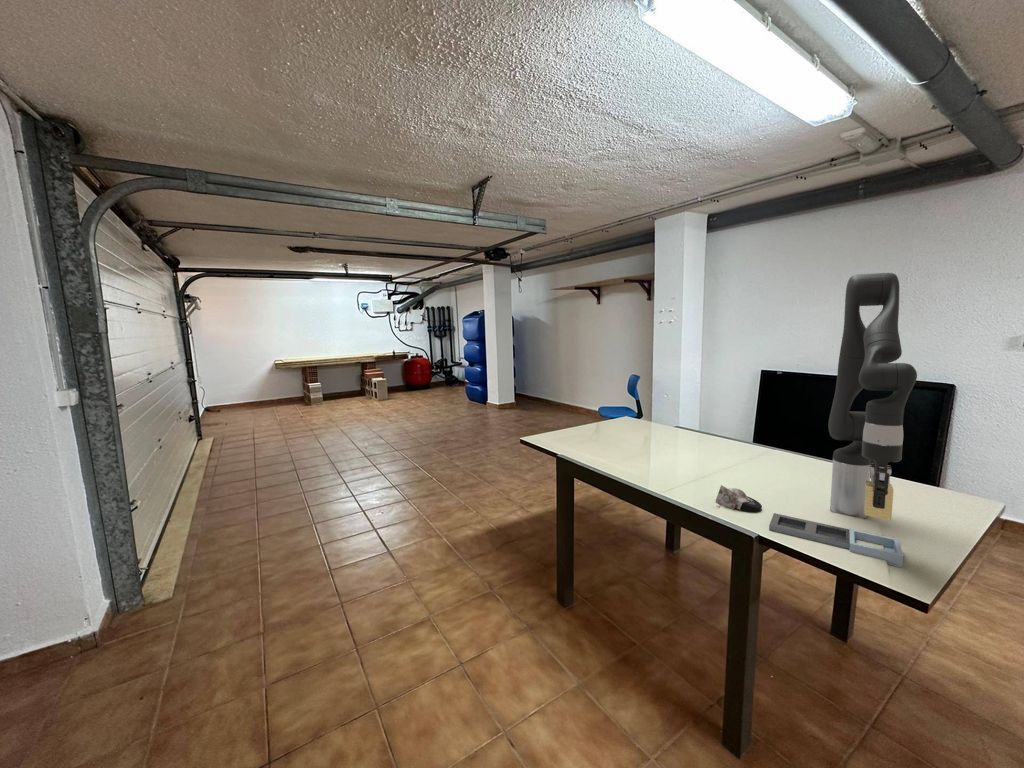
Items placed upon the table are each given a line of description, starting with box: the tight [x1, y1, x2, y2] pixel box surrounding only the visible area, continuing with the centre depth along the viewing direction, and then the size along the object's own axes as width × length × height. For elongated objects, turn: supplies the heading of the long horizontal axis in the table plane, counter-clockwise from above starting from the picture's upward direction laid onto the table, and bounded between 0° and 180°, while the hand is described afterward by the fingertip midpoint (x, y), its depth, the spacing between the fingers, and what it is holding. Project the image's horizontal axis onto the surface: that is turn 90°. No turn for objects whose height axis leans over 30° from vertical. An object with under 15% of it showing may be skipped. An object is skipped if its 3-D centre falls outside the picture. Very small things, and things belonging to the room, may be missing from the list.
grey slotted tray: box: [768, 512, 850, 550], centre depth 114 cm, size 10×18×2 cm, turn 50°
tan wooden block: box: [864, 480, 894, 521], centre depth 102 cm, size 5×5×8 cm
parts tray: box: [848, 528, 904, 568], centre depth 104 cm, size 10×10×3 cm
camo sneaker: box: [715, 484, 763, 513], centre depth 132 cm, size 7×11×10 cm
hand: (877, 503), depth 103 cm, fingers closed on tan wooden block, 5 cm apart
